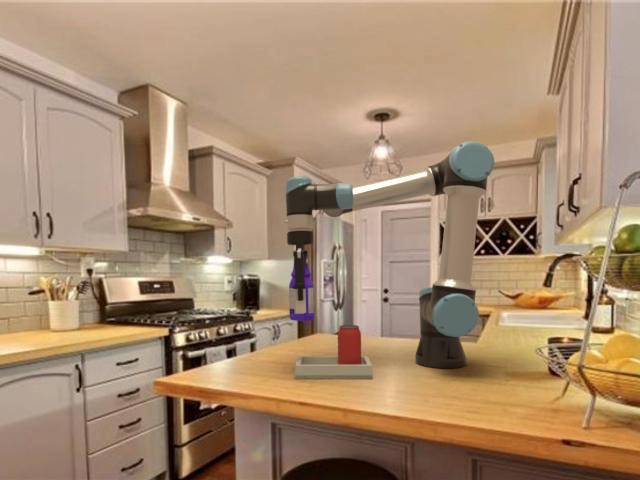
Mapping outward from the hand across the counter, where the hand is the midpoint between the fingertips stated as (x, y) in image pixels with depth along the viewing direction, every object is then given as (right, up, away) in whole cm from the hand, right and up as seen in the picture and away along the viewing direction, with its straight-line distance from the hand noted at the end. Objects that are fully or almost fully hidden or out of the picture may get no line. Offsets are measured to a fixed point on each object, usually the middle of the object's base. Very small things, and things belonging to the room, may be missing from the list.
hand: (302, 311), depth 116 cm
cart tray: (+9, -17, -2) cm, 19 cm away
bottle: (0, -3, 0) cm, 3 cm away
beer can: (+13, -16, -2) cm, 21 cm away
